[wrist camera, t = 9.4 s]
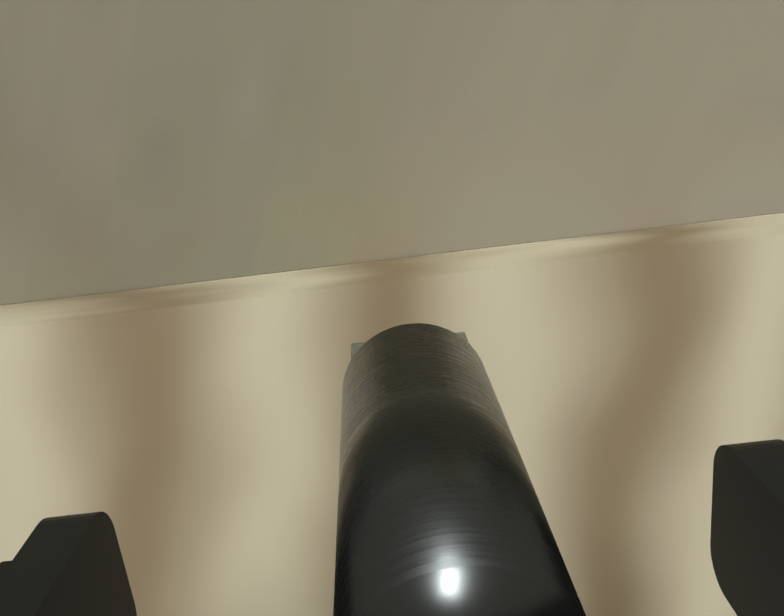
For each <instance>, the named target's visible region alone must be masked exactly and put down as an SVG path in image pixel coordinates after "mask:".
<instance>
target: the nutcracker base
mask: <svg viewBox="0 0 784 616" xmlns="http://www.w3.org/2000/svg"><path fill="white" fill-rule="evenodd" d="M411 323H423V324H431V325H436V326H440V327H443V328H446V329H448V330H450V331H452V332H454V333H458V332H465V334H466V337H467V339H468V342H469V344H470V345H471V346H472V347H473V348H474V350H475V351H476V352H477V354H478V355H479V357H480V359H481V361H482V363H483V365H484V367H485V370H486V372H487V375H488V377H489V380H490V382H491V384H492V387H493V389H494V392H495V394H496V397H497V399H498V402H499V404H500V406H501V409H502V411H503V414H504V416H505V419H506V421H507V424H508V426H509V428H510V431H511V433H512V436H513V438H514V441H515V443H516V446H517V448H518V450H519V453H520V455H521V458H522V460H523V463H524V465H525V468H526V470H527V472H528V475H529V477H530V480H531V482H532V485H533V487H534V490H535V492H536V494H537V497H538V499H539V502H540V504H541V507H542V509H543V512H544V514H545V516H546V519H547V521H548V524H549V526H550V529H551V531H552V534H553V536H554V538H555V541H556V543H557V546H558V548H559V551H560V553H561V555H562V558H563V560H564V563H565V565H566V568H567V570H568V573H569V575H570V577H571V580H572V582H573V585H574V587H575V590H576V592H577V595H578V597H579V599H580V602H581V604H582V607H583V609H584V612H585V614H586V616H737V615H736V613H735V611H734V610H733V608H732V607H731V605H730V604H729V602H728V601H727V599H726V598H725V596H724V594H723V593H722V591H721V588H720V586H719V584H718V581H717V578H716V575H715V572H714V568H713V564H712V559H711V550H710V537H711V511H712V485H713V462H714V456H715V452H716V450H717V449H718V447H719V446H721V445H728V444H737V443H746V442H755V441H764V440H774V439H781V440H783V441H784V213H778V214H770V215H761V216H753V217H745V218H736V219H728V220H719V221H711V222H702V223H694V224H686V225H677V226H669V227H660V228H652V229H643V230H635V231H626V232H618V233H610V234H601V235H593V236H584V237H576V238H567V239H559V240H551V241H542V242H534V243H525V244H517V245H508V246H500V247H492V248H483V249H475V250H466V251H458V252H449V253H441V254H432V255H424V256H416V257H407V258H399V259H390V260H382V261H373V262H365V263H357V264H348V265H340V266H331V267H323V268H314V269H306V270H298V271H289V272H281V273H272V274H264V275H255V276H247V277H239V278H230V279H222V280H213V281H205V282H196V283H188V284H179V285H171V286H163V287H154V288H146V289H137V290H129V291H120V292H112V293H104V294H95V295H87V296H78V297H70V298H61V299H53V300H45V301H36V302H28V303H19V304H11V305H2V306H0V563H1V562H3V561H12V560H13V559H14V557H15V556H16V554H17V553H18V552H19V550H20V549H21V547H22V546H23V544H24V543H25V542H26V540H27V539H28V537H29V536H30V534H31V533H32V532H33V530H34V529H35V527H36V526H37V524H38V523H39V522H40V521H41V520H43V519H44V518H47V517H56V516H65V515H74V514H83V513H93V512H105V513H107V514H108V515H109V517H110V518H111V520H112V522H113V525H114V528H115V532H116V536H117V539H118V543H119V547H120V550H121V554H122V558H123V562H124V565H125V569H126V573H127V576H128V580H129V584H130V587H131V591H132V595H133V599H134V602H135V607H136V613H137V616H333V608H334V583H335V559H336V534H337V510H338V486H339V461H340V437H341V412H342V389H343V381H344V376H345V373H346V370H347V367H348V365H349V363H350V361H351V343H360V342H367V341H368V340H369V339H371V338H372V337H373V336H375V335H377V334H378V333H380V332H382V331H384V330H387V329H389V328H392V327H395V326H399V325H404V324H411Z"/></svg>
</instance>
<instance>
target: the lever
mask: <svg viewBox="0 0 784 616" xmlns="http://www.w3.org/2000/svg"><path fill="white" fill-rule="evenodd" d="M333 616H586V614H585V612H584V609H583V607H582V604H581V602H580V599H579V597H578V595H577V592H576V590H575V587H574V585H573V582H572V580H571V577H570V575H569V573H568V570H567V568H566V565H565V563H564V560H563V558H562V555H561V553H560V551H559V548H558V546H557V543H556V541H555V538H554V536H553V534H552V531H551V529H550V526H549V524H548V521H547V519H546V516H545V514H544V512H543V509H542V507H541V504H540V502H539V499H538V497H537V494H536V492H535V490H534V487H533V485H532V482H531V480H530V477H529V475H528V472H527V470H526V468H525V465H524V463H523V460H522V458H521V455H520V453H519V450H518V448H517V446H516V443H515V441H514V438H513V436H512V433H511V431H510V428H509V426H508V424H507V421H506V419H505V416H504V414H503V411H502V409H501V406H500V404H499V402H498V399H497V397H496V394H495V392H494V389H493V387H492V384H491V382H490V380H489V377H488V375H487V372H486V370H485V367H484V365H483V363H482V361H481V359H480V357H479V355H478V354H477V352H476V351H475V350H474V348H473V347H472V346H471V345H470V344H469V342H468V339H467V337H466V334H465V332H458V333H454V332H452V331H450V330H448V329H446V328H443V327H440V326H436V325H431V324H423V323H411V324H404V325H399V326H395V327H392V328H389V329H387V330H384V331H382V332H380V333H378V334H377V335H375V336H373V337H372V338H371V339H369V340H368V341H367V342H360V343H351V361H350V363H349V365H348V367H347V370H346V373H345V376H344V381H343V389H342V412H341V437H340V461H339V486H338V510H337V534H336V559H335V583H334V608H333Z"/></svg>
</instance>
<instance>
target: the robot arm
mask: <svg viewBox="0 0 784 616" xmlns="http://www.w3.org/2000/svg"><path fill="white" fill-rule="evenodd" d="M710 550H711V559H712V564H713V568H714V572H715V575H716V578H717V581H718V584H719V586H720V588H721V591H722V593H723V594H724V596H725V598H726V599H727V601H728V602H729V604H730V605H731V607H732V608H733V610H734V611H735V613H736V615H737V616H784V441H783V440H781V439H774V440H764V441H755V442H746V443H737V444H728V445H721V446H719V447H718V449H717V450H716V452H715V456H714V462H713V485H712V511H711V537H710ZM0 616H137V613H136V607H135V602H134V599H133V595H132V591H131V587H130V584H129V580H128V576H127V573H126V569H125V565H124V562H123V558H122V554H121V550H120V547H119V543H118V539H117V536H116V532H115V528H114V525H113V522H112V520H111V518H110V517H109V515H108V514H107V513H105V512H93V513H83V514H74V515H65V516H56V517H47V518H44V519H43V520H41V521H40V522H39V523H38V524H37V526H36V527H35V529H34V530H33V532H32V533H31V534H30V536H29V537H28V539H27V540H26V542H25V543H24V544H23V546H22V547H21V549H20V550H19V552H18V553H17V554H16V556H15V557H14V559H13V560H12V561H3V562H1V563H0Z"/></svg>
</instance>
